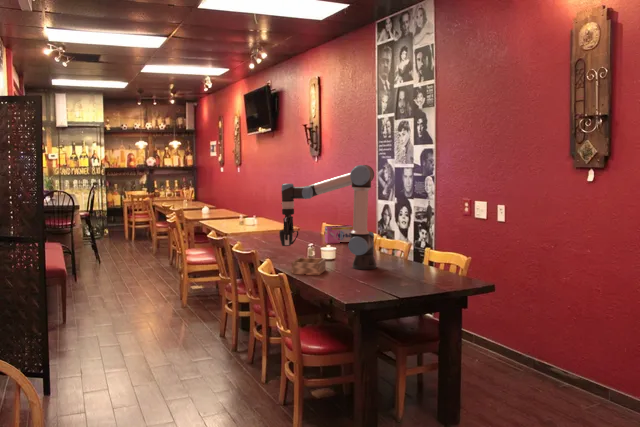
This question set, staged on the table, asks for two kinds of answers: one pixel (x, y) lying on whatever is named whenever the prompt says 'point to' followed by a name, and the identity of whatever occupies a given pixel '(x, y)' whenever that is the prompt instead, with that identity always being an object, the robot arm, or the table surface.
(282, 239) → the mug
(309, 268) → the open wooden box
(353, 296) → the table surface
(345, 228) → the gum box
